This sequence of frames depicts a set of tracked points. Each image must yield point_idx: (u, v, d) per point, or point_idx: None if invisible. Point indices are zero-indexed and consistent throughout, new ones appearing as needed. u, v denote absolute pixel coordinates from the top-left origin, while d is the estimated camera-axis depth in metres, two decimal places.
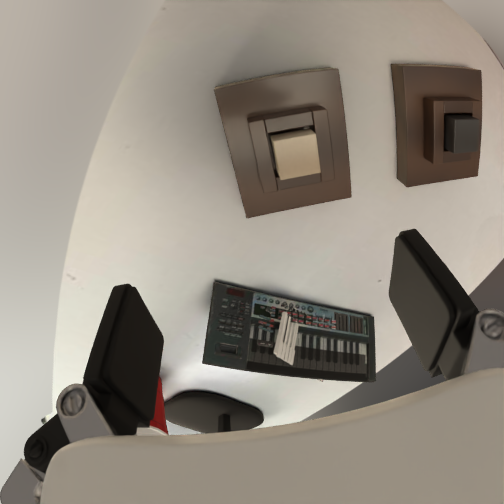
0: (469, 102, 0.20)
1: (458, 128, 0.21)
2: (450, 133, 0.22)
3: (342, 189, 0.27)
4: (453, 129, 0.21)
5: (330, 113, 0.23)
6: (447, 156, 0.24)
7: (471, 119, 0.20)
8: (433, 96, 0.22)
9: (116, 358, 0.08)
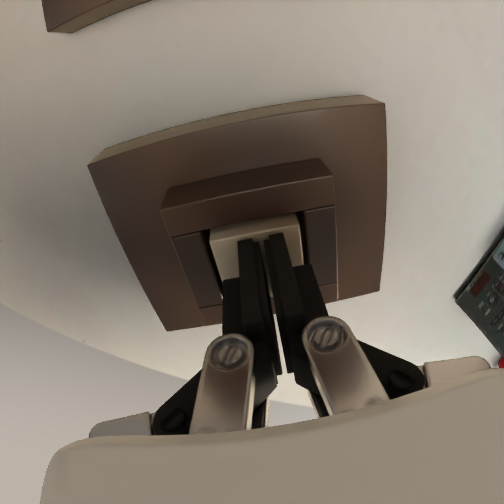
0: None
1: None
2: None
3: (365, 125, 0.11)
4: None
5: (181, 167, 0.11)
6: None
7: None
8: None
9: (268, 304, 0.09)
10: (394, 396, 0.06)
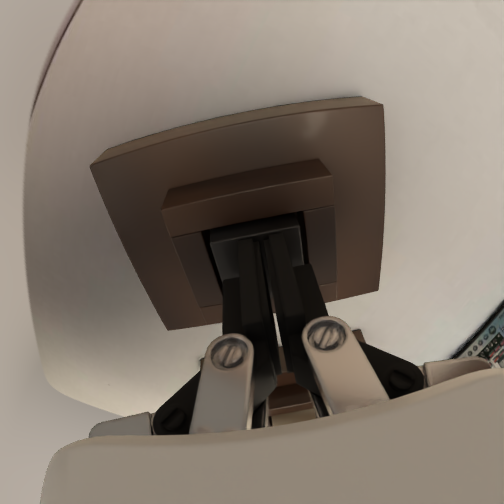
0: (177, 247, 0.11)
1: None
2: None
3: None
4: None
5: None
6: (321, 275, 0.13)
7: (217, 264, 0.12)
8: None
9: (268, 304, 0.08)
10: (394, 396, 0.06)
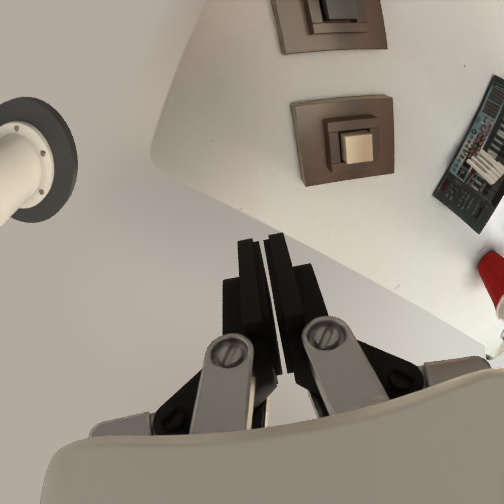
0: None
1: (336, 14, 0.22)
2: (341, 19, 0.23)
3: (386, 104, 0.31)
4: (337, 19, 0.23)
5: (328, 112, 0.32)
6: (361, 17, 0.23)
7: (325, 0, 0.22)
8: (307, 24, 0.25)
9: (268, 304, 0.09)
10: (394, 396, 0.06)
